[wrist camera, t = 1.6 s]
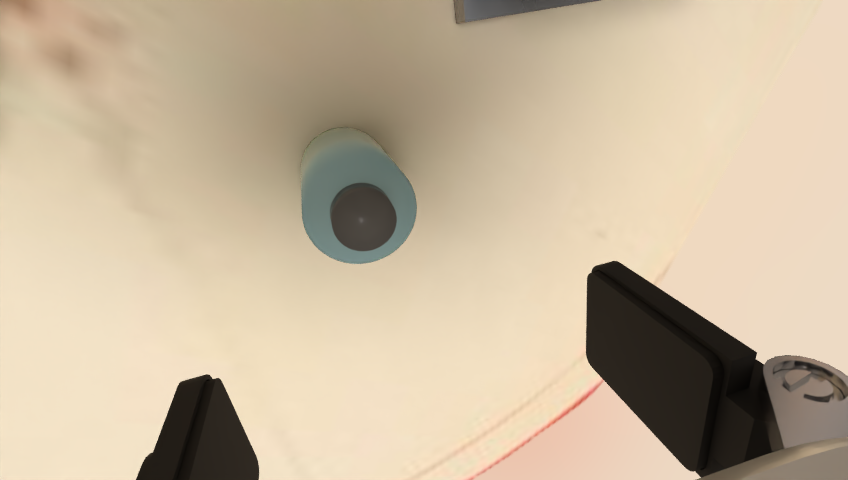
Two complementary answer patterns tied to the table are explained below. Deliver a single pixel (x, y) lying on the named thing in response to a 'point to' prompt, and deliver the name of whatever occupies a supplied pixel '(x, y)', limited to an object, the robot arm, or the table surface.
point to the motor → (504, 7)
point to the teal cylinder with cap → (354, 197)
